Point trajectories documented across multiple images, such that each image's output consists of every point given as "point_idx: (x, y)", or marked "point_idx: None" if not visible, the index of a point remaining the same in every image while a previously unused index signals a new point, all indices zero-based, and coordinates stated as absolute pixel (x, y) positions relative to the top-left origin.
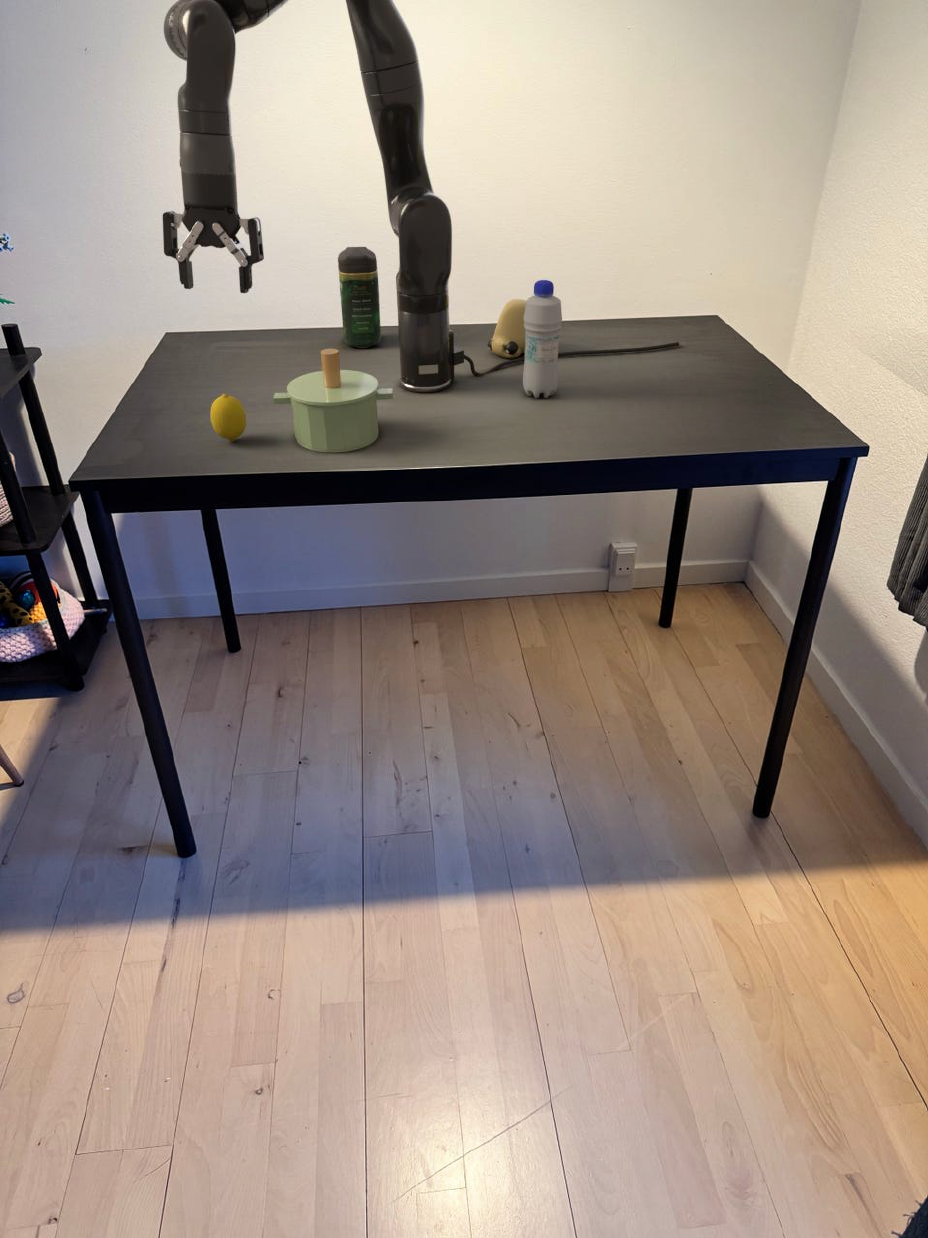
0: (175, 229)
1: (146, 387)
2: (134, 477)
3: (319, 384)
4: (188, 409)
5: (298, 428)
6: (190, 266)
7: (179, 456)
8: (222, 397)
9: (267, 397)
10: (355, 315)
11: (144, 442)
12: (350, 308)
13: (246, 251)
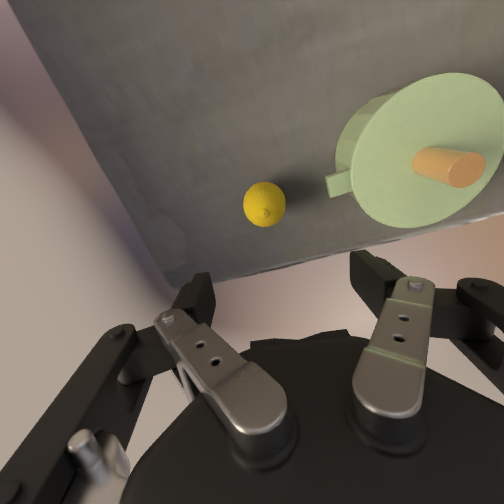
0: (99, 424)
1: (29, 24)
2: (213, 283)
3: (403, 162)
4: (157, 108)
5: (353, 197)
6: (201, 311)
7: (228, 240)
8: (263, 217)
9: (246, 18)
10: None
11: (173, 218)
12: None
13: (432, 305)
